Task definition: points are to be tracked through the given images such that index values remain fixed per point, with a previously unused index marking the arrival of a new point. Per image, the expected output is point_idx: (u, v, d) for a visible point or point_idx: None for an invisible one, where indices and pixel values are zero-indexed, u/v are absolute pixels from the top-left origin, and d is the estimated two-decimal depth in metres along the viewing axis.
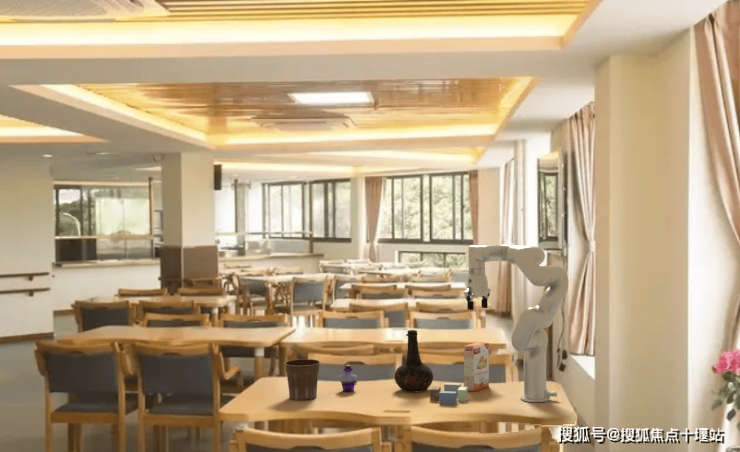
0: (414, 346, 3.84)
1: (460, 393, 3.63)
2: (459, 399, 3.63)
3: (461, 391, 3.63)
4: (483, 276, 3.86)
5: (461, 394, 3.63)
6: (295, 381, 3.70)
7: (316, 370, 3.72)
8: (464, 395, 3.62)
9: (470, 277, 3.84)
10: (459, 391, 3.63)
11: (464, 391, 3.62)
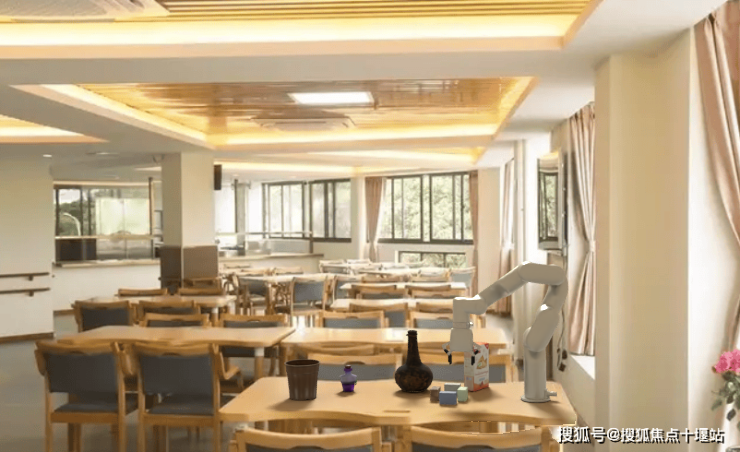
0: (414, 346, 3.84)
1: (460, 393, 3.63)
2: (459, 399, 3.63)
3: (461, 391, 3.63)
4: None
5: (461, 394, 3.63)
6: (295, 381, 3.70)
7: (316, 370, 3.72)
8: (464, 395, 3.62)
9: (471, 331, 3.65)
10: (459, 391, 3.63)
11: (464, 391, 3.62)
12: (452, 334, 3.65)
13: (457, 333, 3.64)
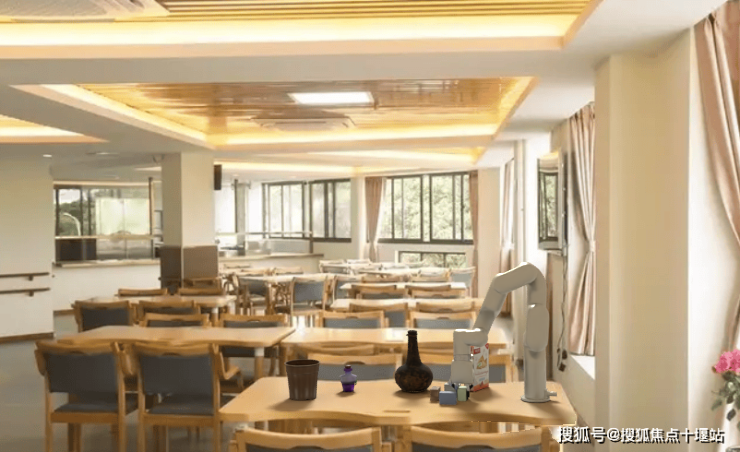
0: (415, 346, 3.84)
1: (460, 393, 3.63)
2: (459, 399, 3.63)
3: (461, 391, 3.63)
4: None
5: (461, 394, 3.63)
6: (295, 381, 3.70)
7: (316, 370, 3.72)
8: (464, 395, 3.63)
9: (472, 362, 3.65)
10: (459, 391, 3.63)
11: (464, 391, 3.63)
12: (453, 366, 3.65)
13: (458, 365, 3.64)
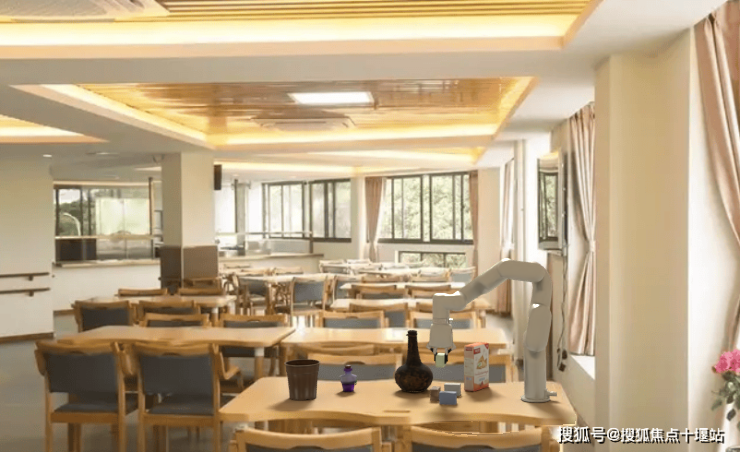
0: (414, 346, 3.84)
1: (438, 359, 3.64)
2: (437, 365, 3.65)
3: (439, 357, 3.64)
4: None
5: (439, 360, 3.64)
6: (295, 381, 3.70)
7: (316, 370, 3.72)
8: (442, 361, 3.64)
9: (451, 327, 3.66)
10: (437, 357, 3.64)
11: (442, 357, 3.64)
12: (432, 330, 3.66)
13: (437, 329, 3.65)
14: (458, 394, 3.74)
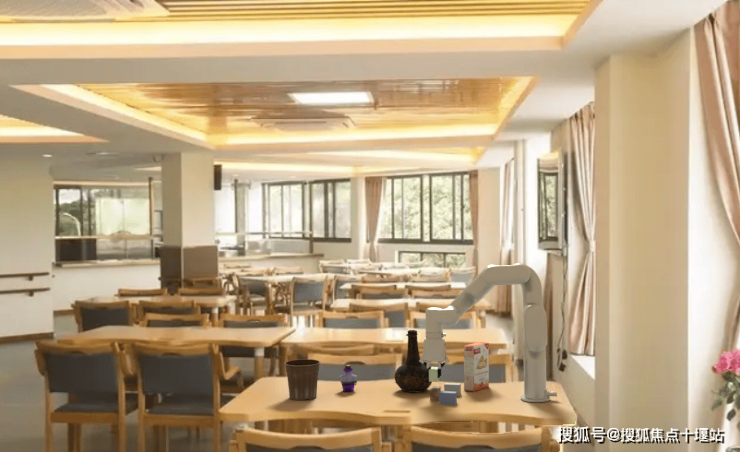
0: (415, 346, 3.84)
1: (431, 373, 3.65)
2: (430, 379, 3.65)
3: (432, 371, 3.65)
4: None
5: (432, 374, 3.65)
6: (295, 381, 3.70)
7: (316, 370, 3.72)
8: (435, 375, 3.65)
9: (444, 341, 3.67)
10: (430, 371, 3.65)
11: (435, 371, 3.64)
12: (425, 344, 3.67)
13: (430, 343, 3.66)
14: (458, 394, 3.74)
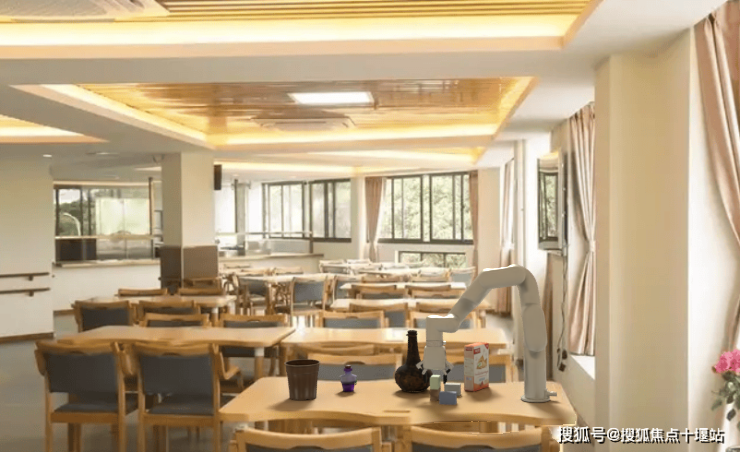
0: (414, 346, 3.84)
1: (432, 381, 3.65)
2: (431, 387, 3.65)
3: (433, 379, 3.65)
4: None
5: (433, 382, 3.65)
6: (295, 381, 3.70)
7: (316, 370, 3.72)
8: (436, 383, 3.65)
9: (444, 349, 3.67)
10: (431, 379, 3.65)
11: (436, 379, 3.65)
12: (425, 352, 3.67)
13: (430, 351, 3.66)
14: (458, 394, 3.74)
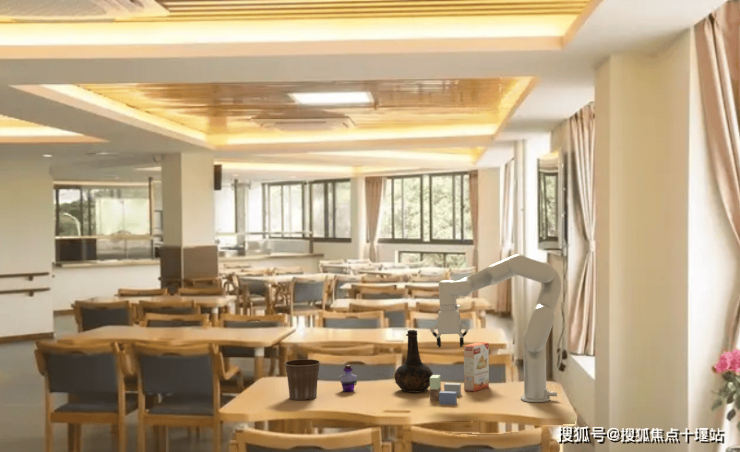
0: (414, 346, 3.84)
1: (432, 381, 3.65)
2: (431, 387, 3.65)
3: (433, 379, 3.65)
4: None
5: (433, 382, 3.65)
6: (295, 381, 3.70)
7: (316, 370, 3.72)
8: (436, 383, 3.65)
9: (458, 313, 3.68)
10: (431, 379, 3.65)
11: (436, 379, 3.64)
12: (440, 317, 3.68)
13: (444, 316, 3.67)
14: (458, 394, 3.74)
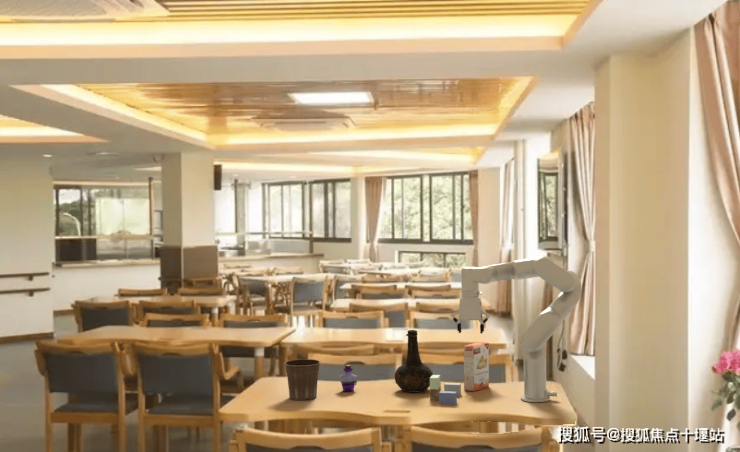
0: (415, 346, 3.84)
1: (432, 381, 3.65)
2: (431, 387, 3.65)
3: (433, 379, 3.65)
4: None
5: (433, 382, 3.65)
6: (295, 381, 3.70)
7: (316, 370, 3.72)
8: (436, 383, 3.65)
9: (480, 299, 3.71)
10: (431, 379, 3.65)
11: (436, 379, 3.64)
12: (461, 303, 3.71)
13: (466, 302, 3.70)
14: (458, 394, 3.74)
